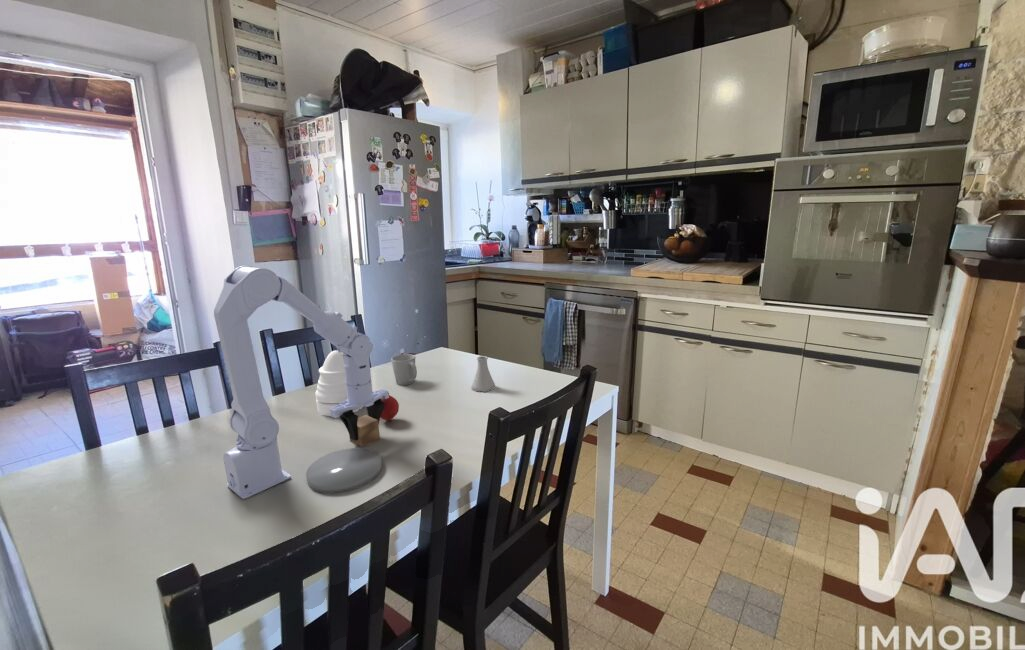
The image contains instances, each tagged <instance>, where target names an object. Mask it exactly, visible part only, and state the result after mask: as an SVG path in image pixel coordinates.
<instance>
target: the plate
mask: <svg viewBox="0 0 1025 650" xmlns="http://www.w3.org/2000/svg"><path fill="white" fill-rule="evenodd" d="M382 465H383V464H382V458H381V455H380V454H379V453H378V452H377V451H375V450H372V449H369V448H363V447H351V448H345V449H344V448H343V449H339V450H335V451H333V452H330V453H327V454H325V455H322V456H320V457H318V459H316V460H314V461H313V462H312V463H311V464H310V465H309V466H308V467H307V469H306V472H305V477H306V484H307V485H308V487H309V488H311V489H312V490H313V491H316V492H319V493H325V494H337V493H344V492H349V491H353V490H355V489H356V490H357V489H359V488H361V487H363V486H365V485H366V484H368V483H370V482H372V481H373V480H374V479H375V478H377V476H379V475H380V473H381V471H382V468H383V466H382Z"/></svg>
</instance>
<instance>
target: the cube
mask: <svg viewBox="0 0 1025 650" xmlns="http://www.w3.org/2000/svg"><path fill="white" fill-rule="evenodd" d="M379 426H380V425H378V420H377V419H375V418H372V417H370V416H368V415H367V414H364V415H362V416H358V422H357V430H358V440H356V441H355V440H353V439H351V438H350V435H349V434H348V435H349V442H351V443H353V444H355V445H357V446H358V447H360V448H363V447H366V446H367V445H370V444H371V443H374V442H377V441H379V440H380V439H381V436H380V427H379Z"/></svg>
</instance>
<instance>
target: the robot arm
mask: <svg viewBox="0 0 1025 650" xmlns="http://www.w3.org/2000/svg"><path fill="white" fill-rule="evenodd" d="M271 301H275V302H279V303H284V304H285V305H287V306H288V307H289V308H291V309H293V310H294V311H296V313H298V314H300V315H301V316H303V317H304V318H306V319H307V320H309V321H310V322H311V323H312V326H313V331H314V332H315V333H316V334H318V335H319V336H321V338H323V339H325V340H326V341H328V342H329V343H330V344H331V345H333V346H334V347H336V351H339V352H342V353H343V363H344V372H345V381H346V390H347V398H348V399H347V400H346V401H344V402H342V403H340V404H339V405H337V406H335V407H333V408H331V409H330V410H331V416H330V417H332V418H334V419H338V418H339V419H340V420H341V422H342V423H343V425H344V427H345V428H346V430H347V432H348V435H350V437H349V439H350V438H351V439H353V440H355V441H356V440H358V430H357V422H358V418H359V415H358V414H355V412H353V410H355V409H358V408H361V407H363V408H364V407H365V409H366V411H367V414H368V415H367V416H370V417H372V418H375V419H377V420H378V425H379V424H380V420H381V418H380V417H381V414H382V411H383V409H384V407H385V402H382V400H381V399H387V398H389V395H390V393H389V390H387V389H384V388H383V389H379V390H374V391H373V384H372V375H371V373H372V372H371V365H370V364H371V363H370V356H371V354H372V351H373V348H374V343H372V342H371V341H370V337H368V335H366V334H363V333H360V332H358V327H357V326H356V325H351V324H350V323H348V322H347V321H346V320H345V319H343V314H342V313H341V312H339V311H333V310H326V311H325V310H322V308H321V307H320V306H317V304H316V303H315V302H313V301H312V300H311V299H310V298H309V297H307V296H306V295H305V294H304V293H303V292H301V291H300V290H299V289H298V288H297V287H295V285H293V284H292V283H290V282H289V281H288V280H286V279H285V278H284V277H282V276H280V275H279V276H278V275H277V273H276V272H274V271H273V270H271V269H269V268H266V267H265V268H264V267H263V268H262V267H260V268H259V267H255V266H252V265H241V266H238V267H236V268H235V269H234V270H232V271H231V273H229V275H227V276H226V277H225V278H224V280H223V287H222V290H221V292H220V294H219V297H218V300H217V301H216V303H215V307H214V309H213V317H214V320H215V326H216V329H217V334H218V338H219V342H220V346H221V351H222V355H223V359H224V360H223V361H224V364H225V368H226V372H227V376H228V381H229V385H230V390H231V395H232V398H233V400H232V401H231V403H230V406H231V415H230V419H229V426H230V429H231V430H232V431H233V432H234V433H236V434H237V437H236V442H235V446H234V447H232V448H231V449H230V450H228V451H226V452H224V453H223V465H224V469H225V475H226V480H227V483H226V486H227V487H228V488H229V489H230V490H231V491H233V492H234V493H235V494H236V495H238V496H239V497H240V498H241V499H243V500H245V499H248V498H249V497H252V496H254V495H256V494H258V493H260V492H263V491H266V490H267V489H269V488H271V487H273V486H276V485H279V484H280V483H282V482H285V481H287V480H289V479H290V478H292V475H291V474H289V473H288V472H286V471H285V470H283V469H282V468H283V467H282V461H281V454H280V450H279V444H278V438H277V437H278V435H279V431H280V426H279V423H278V422H279V421H277V419H275V418H274V417H273V415H272V413H271V409H270V407H269V405H268V402H267V401H266V399H265V396H264V394H263V388H262V384H261V380H260V374H259V370H258V366H257V361H256V360H257V359H256V356H255V351H254V346H253V343H252V342H253V341H252V338H251V333H250V328H249V323H248V319H249V318H250V317H251V316H252V315H253V314H254V312H256V311H257V309H258V308H260V307H262V306H264V305H265V304H267V303H268V302H271ZM388 393H389V394H388ZM361 409H362V408H361ZM379 426H380V425H379Z"/></svg>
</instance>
